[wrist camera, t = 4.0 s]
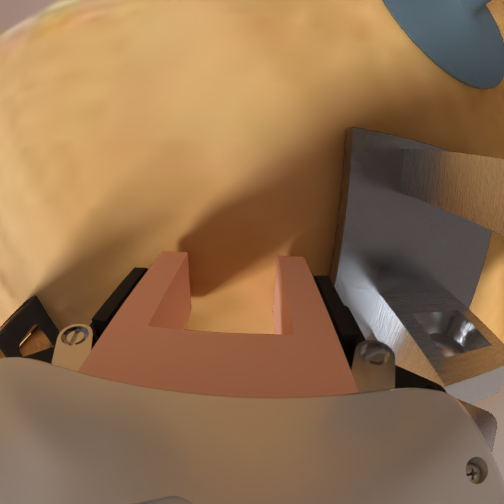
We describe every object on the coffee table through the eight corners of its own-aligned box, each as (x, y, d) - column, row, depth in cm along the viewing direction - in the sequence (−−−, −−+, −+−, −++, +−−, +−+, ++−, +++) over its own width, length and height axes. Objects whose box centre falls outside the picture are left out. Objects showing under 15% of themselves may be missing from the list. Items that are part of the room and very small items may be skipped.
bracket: (345, 128, 11) (456, 110, 4) (489, 167, 11) (585, 195, 4) (314, 352, 15) (341, 465, 8) (444, 340, 15) (497, 412, 8)
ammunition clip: (119, 404, 17) (73, 525, 6) (105, 405, 18) (58, 517, 6) (36, 294, 14) (-70, 406, 3) (25, 301, 14) (-72, 403, 3)
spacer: (162, 251, 12) (72, 380, 5) (304, 256, 12) (362, 403, 5) (168, 306, 13) (111, 443, 6) (296, 312, 13) (328, 460, 6)
